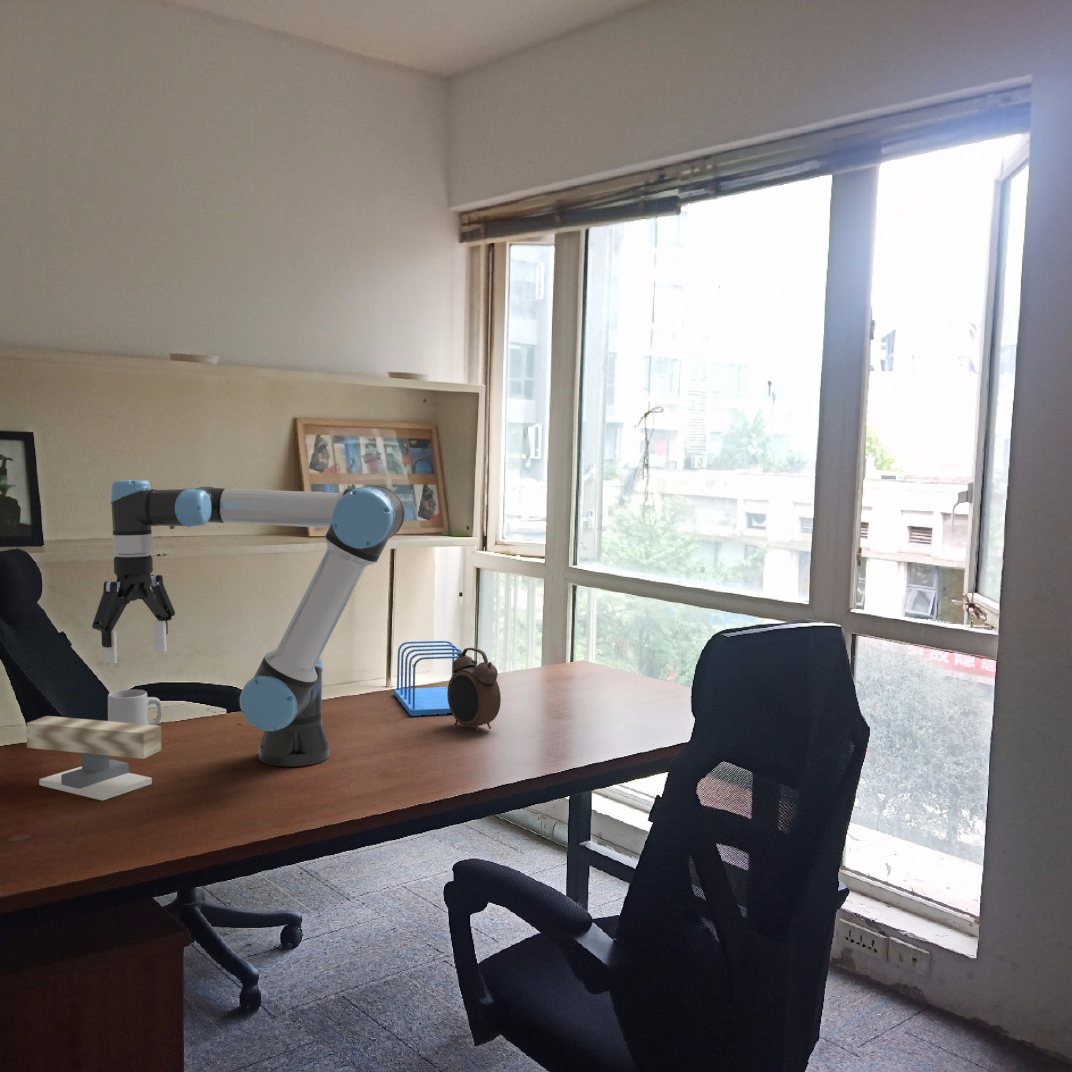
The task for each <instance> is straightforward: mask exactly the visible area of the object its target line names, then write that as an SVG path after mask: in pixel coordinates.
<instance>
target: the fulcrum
mask: <svg viewBox="0 0 1072 1072" xmlns="http://www.w3.org/2000/svg"><path fill="white" fill-rule="evenodd" d="M129 765H130V764H129V763H128V762H125V761H120V760H117V759H113V758H111V759H110V756H109V755H98V754H88V753H81V766H79V767H75V768H73V769H69V770H65V771H61V772H58V773H54V774H52V775H49V776H45V777H42V778H39V780H38V781H39V783H38V785H39V786H42V787H45V788H49V789H54V790H58V791H62V792H66V793H70V794H74V795H79V796H82V797H86V798H90V799H94V800H99V801H106V800H108V799H111V798H114V797H118V796H120V795H123V794H126V793H129V792H131V791H135V790H138V789H141V788H144V787H146V786H147V787H148V786H149V785H152V784H153V783H152V782H153V778H152V777H149V776H146V775H141V774H136V773H132V772H130V770H129V769H130V767H129Z"/></svg>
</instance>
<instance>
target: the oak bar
mask: <svg viewBox="0 0 1072 1072" xmlns="http://www.w3.org/2000/svg"><path fill="white" fill-rule="evenodd" d="M26 748H27V749H36V750H45V751H57V752H59V751H60V752H68V753H78V754H82V753H88V754H98V755H109V757H121V758H133V759H143V760H144V759H146V758H148V757H151V756H152V755H155V754H157V753H158V752H161V751H162V725H159V724H157V725H146V724H135V723H123V722H112V721H108V720H99V719H87V718H76V717H75V718H74V717H64V716H63V717H62V716H55V715H54V716H52V715H46V716H42V717H40V718H37V719H34V720H31V721H29V722H27V723H26Z"/></svg>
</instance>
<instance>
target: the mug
mask: <svg viewBox="0 0 1072 1072" xmlns="http://www.w3.org/2000/svg"><path fill="white" fill-rule="evenodd" d="M147 692H148V691H145V690H144V689H121V690H115V691H112V692H109V693H108V694H107V721H112V722H123V723H135V724H146V725H159V724H160V723H161V720H162V717H163V705H162V702H161V700H160V698H158V697H155V696H148V693H147ZM153 704H154V705H156V707H157V715H156V717H155V718H153V719H148V707H149V706H150V705H153Z"/></svg>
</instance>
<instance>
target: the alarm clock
mask: <svg viewBox="0 0 1072 1072" xmlns="http://www.w3.org/2000/svg"><path fill="white" fill-rule="evenodd" d="M468 651H473V652H476V653H478V654H480V655H481V656H482V660H483V662H480V663H479V664H478V661H476V660H474V659H473V657H471V656H469V655H467V652H468ZM465 654H466V655H467V656H465ZM451 666H452V667H451V671H452V670H453V673H454V674H453V675H452V674H451V677H450V679H449V682H448V685H447V687H448V690H447V697H448V704H449V707H450V710H451V713H452V714H451V715H452V716H453V718H454V719H455V723H454V726H455V727H456V725H457V726H458V723H459V724H460V725H461V726H463V727H467V728H469V727H474V728H475V730H476V734H480V731H479V727H480V726H483V725H485V724H486V725H487V728H488V729H489V730H492V726H491V725H490V723H491V722H493V721H494V720H496V717H497V716H498V714H499V711H500V708H501V701H502V699H501V691H500V687H499V683H498V681H497V680H498V679H497V678H498V675H499V671H498V669H497V668H496V666H495V665H494V664H493V663H492V662H491V661H489V660H488V657H487V655H486V653H485V652H484V651H483V650H481V649H479V648H476V647H467V648H466V647H465V648H464V649H463V651H462V654H461V653H459V658H455V659H454V662H453V664H452V663H451Z"/></svg>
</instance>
